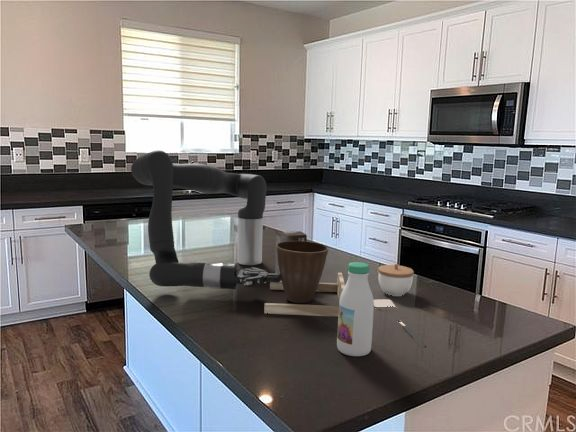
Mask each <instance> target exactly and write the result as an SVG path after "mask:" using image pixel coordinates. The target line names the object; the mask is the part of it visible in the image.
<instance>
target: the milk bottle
mask: <svg viewBox="0 0 576 432" xmlns="http://www.w3.org/2000/svg"><path fill="white" fill-rule="evenodd" d="M369 272H370V265H369V264H368V263H366V262H361V261H360V262H359V261H353V262H349V263H348V266H347V274H348V278H347V281H346V283H345V287H344V289H343V291H342V293H341V296H340V302H339V301H338V303H339V305H338V306H339V315H338V318H337V333H336V334H337V335H336V347H337V350H338V351H339V352H340V353H342V354H343V355H346V356H350V357H363V356H366V355H368V354H370V352H371V350H372V342H373V326H374V325H373V324H374V311H375V309H374V308H375V306H374V300H375V299H374V296H373V292H372V290H371V287H370V285H369V279H368V278H369V277H368V276H369V275H370V273H369Z"/></svg>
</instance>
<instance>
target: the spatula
mask: <svg viewBox="0 0 576 432" xmlns="http://www.w3.org/2000/svg"><path fill="white" fill-rule="evenodd" d="M373 300H374V308H375V307H387V306H388V307H390V306H391V307H392V306H393V307H396V305H395V303H394V302H393V300H391V299H389V298H387V299H373ZM396 308H397V307H396ZM398 323H399V324H400V325H401V326H402V328H403V329H404V330H405V331H406V332H407V334H408V335H409V334H410V335H411V336H412V337H413V338H414V339H416V340H417V341H418V342H420V343H421V344H422V342H423V341H422V340H421V339H420V338H419V337H418V335H417V334H416V333H415V332H414V331H413V330H412V329H411V327H409V326H408V325H406V324H405V323H403V322H402V321H401V322H398ZM410 335H409V336H410ZM411 336H410V337H411ZM412 337H411V338H412ZM413 338H412V339H413ZM414 339H413V340H414ZM421 341H422V342H421ZM422 345H423V344H422Z"/></svg>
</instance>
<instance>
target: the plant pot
mask: <svg viewBox="0 0 576 432" xmlns="http://www.w3.org/2000/svg"><path fill="white" fill-rule="evenodd" d="M328 251H329V247H328V246H326V245H325V244H322V243H318V242H314V241H285V242H280V243H278V244H277V257H278V265H279V271H280V275H281V280H282V285H283V288H284V290H283V291H284V295H285V298H286V300H287V301H289V302H292V303H294V304H307V303H310V302H312V300H313V298H314V296H315V293H316V292H317V291H316V289H317V286H318V284H319V283H320V280H321V278H322V275H323V272H324V269H325V265H326V260H327V256H328Z"/></svg>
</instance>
